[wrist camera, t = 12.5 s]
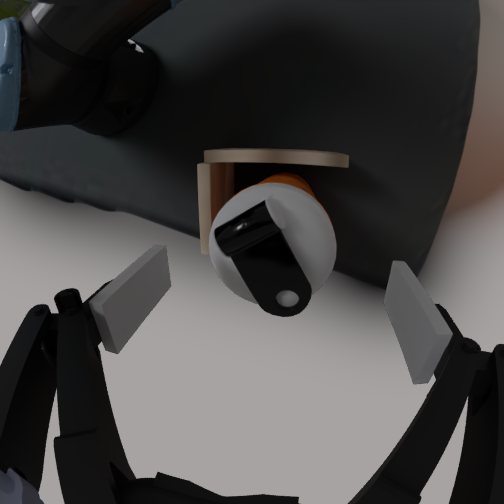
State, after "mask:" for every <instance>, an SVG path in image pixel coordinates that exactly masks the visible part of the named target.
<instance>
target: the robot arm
mask: <svg viewBox="0 0 504 504" xmlns="http://www.w3.org/2000/svg"><path fill="white" fill-rule="evenodd" d="M181 1H182V0H33V2H32V3H31V4H30V5H29V6H28V8H27V9H26V10H25V11H24V13H23V14H22V15H21V17H20V18H18V19H17V18H15V17H10V18H5V19H2V20H1V21H0V132H3V131H5V132H7V133H10V132H12V131H17V130H23V129H30V128H38V127H47V126H57V125H73V126H75V127H77V128H79V129H81V130H83V131H86V132H88V133H90V134H94V135H111V134H117V133H120V132H122V131H124V130H126V129H128V128H129V127H131V126H132V125H133V124H134V123H136V122H137V121H138V120H139V119H140V117H141V116H142V115H143V114H144V112H145V111H146V110H147V108H148V106H149V104H150V102H151V100H152V98H153V96H154V93H155V89H156V85H157V76H158V72H157V65H156V61H155V58H154V56H153V54H152V53H151V51H150V50H149V49H148V48H147V47H146V46H144V45H143V44H141V43H139V42H137V41H134V40H132V39H130V38H131V37H133V36H134V35H135V34H136V33H138V32H139V31H140V30H141V29H143V28H144V27H145V26H147V25H148V24H149V23H151V22H152V21H154V20H155V19H156V18H158V17H159V16H161V15H162V14H164V13H165V12H167V11H168V10H170V9H171V10H172V9H174V8H175V7H176V5H177V4H178V3H179V2H181ZM170 287H171V281H170V273H169V266H168V258H167V250H166V246H165V245H154V246H153V247H152V248H150V249H149V250H148V251H147V252H146V253H144V254H143V255H142V256H141V257H140V258H138V259H137V260H136V261H135V262H134V263H132V264H131V265H130V266H129V267H128V268H127V269H125V270H124V271H123V272H122V273H121V274H120V275H118V276H117V277H116V278H115V279H113V280H111V281H109V282H107V283H105V284H104V285H103V286H102V287H101V288H100V289H98V290H97V291H96V292H95V293H94V294H93V295H91V296H90V297H89V298H88V299H87V300H86V301H85V302H84V303H82V300H81V297H80V293H79V291H78V290H77V289H74V288H70V289H65V290H62V291H60V292H59V293H57V294H56V295H55V297H54V300H55V303H56V306H57V309H58V312H59V313H51V312H50V309H49V307H48V305H46V304H41V305H36V306H34V307H33V308H31V309H30V310H29V312H28V313H27V315H26V317H25V318H24V320H23V322H22V324H21V325H20V327H19V329H18V331H17V333H16V335H15V337H14V339H13V341H12V342H11V344H10V347H9V349H8V351H7V353H6V355H5V357H4V359H3V361H2V364H1V366H0V504H44V503H43V501H42V500H41V499H40V497H39V494H38V492H39V488H40V484H41V480H42V473H43V465H44V456H45V447H46V440H47V433H48V428H49V422H50V416H51V411H52V406H53V402H54V397H55V393H56V389H57V401H58V415H59V426H60V436H59V437H55V438H54V452H55V459H56V465H57V471H58V476H59V481H60V486H61V491H62V495H63V499H64V502H65V504H299V503H298V499H299V497H291V496H276V495H265V494H261V495H249V496H231V497H230V496H229V497H225V496H221V495H218V494H216V493H213V492H211V491H209V490H207V489H205V488H203V487H201V486H199V485H197V484H194V483H192V482H190V481H187V480H184V479H180V478H177V477H173V476H169V475H166V474H163V473H160V472H157V475H156V477H155V478H139V479H136V477H135V475H134V473H133V472H132V470H131V468H130V466H129V464H128V461H127V458H126V456H125V452H124V449H123V446H122V443H121V440H120V437H119V433H118V430H117V427H116V423H115V419H114V416H113V412H112V408H111V404H110V400H109V395H108V391H107V387H106V382H105V377H104V372H103V366H102V361H101V355H100V351H99V348H98V345H99V344H100V343H101V341H102V343H103V345H104V348H105V350H106V351H109V352H112V353H116V354H118V353H119V352H120V351H121V350H122V348H123V347H124V345H125V344H126V343H127V342H128V340H129V339H130V338H131V336H132V335H133V334H134V333H135V331H136V330H137V329H138V327H139V326H140V325H141V323H142V322H143V321H144V320H145V318H146V317H147V316H148V315H149V313H150V312H151V311H152V310H153V308H154V307H155V306H156V305H157V303H158V302H159V301H160V299H161V298H162V297H163V296H164V295H165V293H166V292H167V291H168V290H169V288H170ZM383 303H384V306H385V308H386V311H387V313H388V315H389V318H390V320H391V323H392V325H393V328H394V331H395V333H396V336H397V338H398V341H399V344H400V346H401V349H402V352H403V355H404V358H405V361H406V363H407V366H408V369H409V372H410V375H411V378H412V381H413V384H423V383H428V382H429V380H430V379H431V377H432V375H433V373H434V376H435V378H436V381H435V383H434V385H433V386H432V388H431V389H430V391H429V393H428V394H427V397H426V399H425V401H424V403H423V404H422V406H421V408H420V410H419V411H418V413H417V414H416V416H415V418H414V419H413V421H412V423H411V424H410V426H409V427H408V429H407V431H406V432H405V433H404V435H403V436H402V438H401V439H400V441H399V442H398V443H397V445H396V446H395V448H394V449H393V451H392V452H391V453H390V455H389V456H388V457H387V459H386V460H385V461H384V462H383V464H382V465H381V466H380V468H379V469H378V470H377V471H376V473H375V474H374V475H373V476H372V477H371V479H370V480H369V481H368V482H367V483H366V484H365V485H364V487H363V488H362V489H361V490H360V491H359V492H358V493H357V494H356V495H355V497H354V498H353V499H352V500H351V501H350V502H349V503H348V504H419V503H420V501H421V496H420V493H421V491H422V490H423V488H424V486H425V485H426V483H427V481H428V480H429V478H430V476H431V475H432V473H433V471H434V469H435V468H436V466H437V464H438V462H439V460H440V458H441V457H442V455H443V453H444V451H445V448H446V447H447V445H448V443H449V440H450V438H451V436H452V434H453V432H454V430H455V427H456V425H457V423H458V420H459V418H460V415H461V413H462V410H463V408H464V405H465V402H466V400H467V397H468V407H467V418H466V426H465V434H464V440H463V447H462V452H461V457H460V463H459V467H458V472H457V476H456V480H455V484H454V487H453V491H452V495H451V498H450V501H449V504H504V344H498V345H496V347H495V348H494V350H493V352H492V353H490V352H485V351H481V348H480V346H479V345H478V344H477V343H476V342H475V341H474V340H472V339H469V338H464V337H463V335H462V334H461V332H460V331H459V329H458V328H457V326H456V324H455V323H454V322H453V320H452V318H451V317H450V315H449V314H448V312H447V311H446V309H444V308H443V307H442V306H441V305H439V304H434V303H433V301H432V300H431V298H430V297H429V295H428V294H427V292H426V291H425V289H424V288H423V286H422V285H421V283H420V282H419V281H418V279H417V278H416V276H415V275H414V274H413V272H412V271H411V269H410V268H409V267H408V265H407V264H406V263H405V261H393V263H392V267H391V272H390V276H389V281H388V285H387V289H386V293H385V297H384V301H383Z"/></svg>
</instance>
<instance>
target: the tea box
mask: <svg viewBox="0 0 504 504" xmlns="http://www.w3.org/2000/svg"><path fill="white" fill-rule="evenodd" d="M32 2H33V0H0V21H1V20H2V19H5V18H10V17H15V18H17V19H18V18H20V17H21V15H22V14H23V13H24V11H25V10H26V9H27V8H28V6H29V5H30V4H31V3H32Z"/></svg>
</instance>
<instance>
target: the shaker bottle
mask: <svg viewBox="0 0 504 504" xmlns="http://www.w3.org/2000/svg"><path fill="white" fill-rule="evenodd" d="M336 248H337V245H336V239H335V233H334V230H333V225H332V223H331V220H330V218H329V215H328V214H327V212H326V211H325V209H324V208H323V206H322V205H321V204H320V203H319V202H318V201H317V199H316V197H315V196H314V194H313V192H312V190H311V188H310V186H309V185H308V183H307V182H306V181H305V180H304V179H303V178H301V177H300V176H298V175H296V174H293V173H288V172H281V173H276V174H274V175H272V176H270V177H268V178H267V179H265V180H263V181H262V182H260V183H259V184H256V185H252V186H250V187H248V188H246V189H243V190H241V191H240V192H239V193H237V194H236V195H235V196H233V197H232V198H231V199H230V200H229V201H228V202H227V203H226V204H225V205H224V207H223V208H222V209H221V210H220V211H219V212H218V214H217V216H216V218H215V220H214V221H213V224H212V227H211V231H210V235H209V252H210V258H211V261H212V264H213V267H214V269H215V270H216V272H217V274H218V276H219V278H220V279H221V280H222V281H223V283H224V284H225V285H226V286H227V287H228V288H229V289H230V290H232V291H233V292H234V293H235V294H237V295H238V296H240V297H242V298H244V299H246V300H248V301H250V302H253V303H256V304H259V306H260V307H261V308H262V309H263V310H264V311H266V312H268V313H270V314H272V315H276V316H281V317H289V316H294V315H296V314H299V313H300V312H302V311H303V310H304V309H305V307H306V306H307V305H308V303H309V301H310V299H311V295H313V294H314V293H315V292H316V291H317V290H319V289H320V288H321V287H322V285H323V284H324V283H325V282H326V280H327V279H328V277H329V275H330V273H331V272H332V270H333V267H334V263H335V259H336Z"/></svg>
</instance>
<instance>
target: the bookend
mask: <svg viewBox="0 0 504 504" xmlns="http://www.w3.org/2000/svg"><path fill="white" fill-rule="evenodd" d="M234 162H262V163H289V164H307V165H322V166H334V167H345V168H348V167H349V155H346V154H342V153H338V152H327V151H314V150H297V149H272V148H222V149H213V150H205V151H204V163H200V164H197V173H198V201H199V222H200V239H201V254H209V255H210V252H209V235H210V231H211V227H212V224H213V221H214V220H215V218H216V216H217V214H218V212H219V211H220V210H221V209H222V208H223V207H224V205H225V204H226V203H227V202H228V201H229V200H230V199H231V198H232V197H233V196H234Z"/></svg>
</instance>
